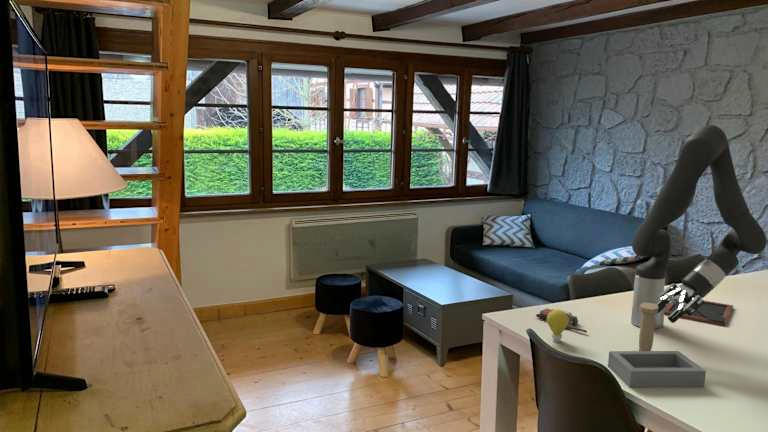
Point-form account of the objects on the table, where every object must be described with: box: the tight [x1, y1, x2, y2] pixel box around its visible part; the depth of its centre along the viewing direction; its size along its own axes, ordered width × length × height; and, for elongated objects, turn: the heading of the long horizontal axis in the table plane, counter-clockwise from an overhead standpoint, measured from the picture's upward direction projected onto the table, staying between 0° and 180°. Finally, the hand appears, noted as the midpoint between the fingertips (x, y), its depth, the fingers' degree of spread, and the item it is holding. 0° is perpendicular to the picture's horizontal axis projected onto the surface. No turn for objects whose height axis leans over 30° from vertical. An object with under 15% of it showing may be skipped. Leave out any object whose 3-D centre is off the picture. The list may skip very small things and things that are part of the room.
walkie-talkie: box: [535, 308, 588, 334], centre depth 193 cm, size 9×4×20 cm
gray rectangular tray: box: [607, 350, 707, 388], centre depth 153 cm, size 20×13×4 cm, turn 92°
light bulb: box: [546, 309, 569, 343], centre depth 177 cm, size 7×7×10 cm
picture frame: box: [664, 300, 734, 327], centre depth 208 cm, size 20×2×25 cm
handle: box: [638, 303, 658, 351], centre depth 167 cm, size 5×6×15 cm
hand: (662, 315), depth 167 cm, fingers open, 8 cm apart
